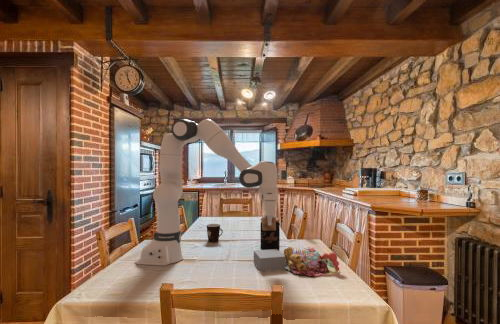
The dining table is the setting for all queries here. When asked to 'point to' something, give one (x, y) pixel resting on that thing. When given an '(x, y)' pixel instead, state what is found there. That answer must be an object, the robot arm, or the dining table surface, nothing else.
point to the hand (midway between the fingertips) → (268, 223)
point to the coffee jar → (270, 237)
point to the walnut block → (265, 224)
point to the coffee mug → (213, 232)
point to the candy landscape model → (311, 262)
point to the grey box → (269, 259)
